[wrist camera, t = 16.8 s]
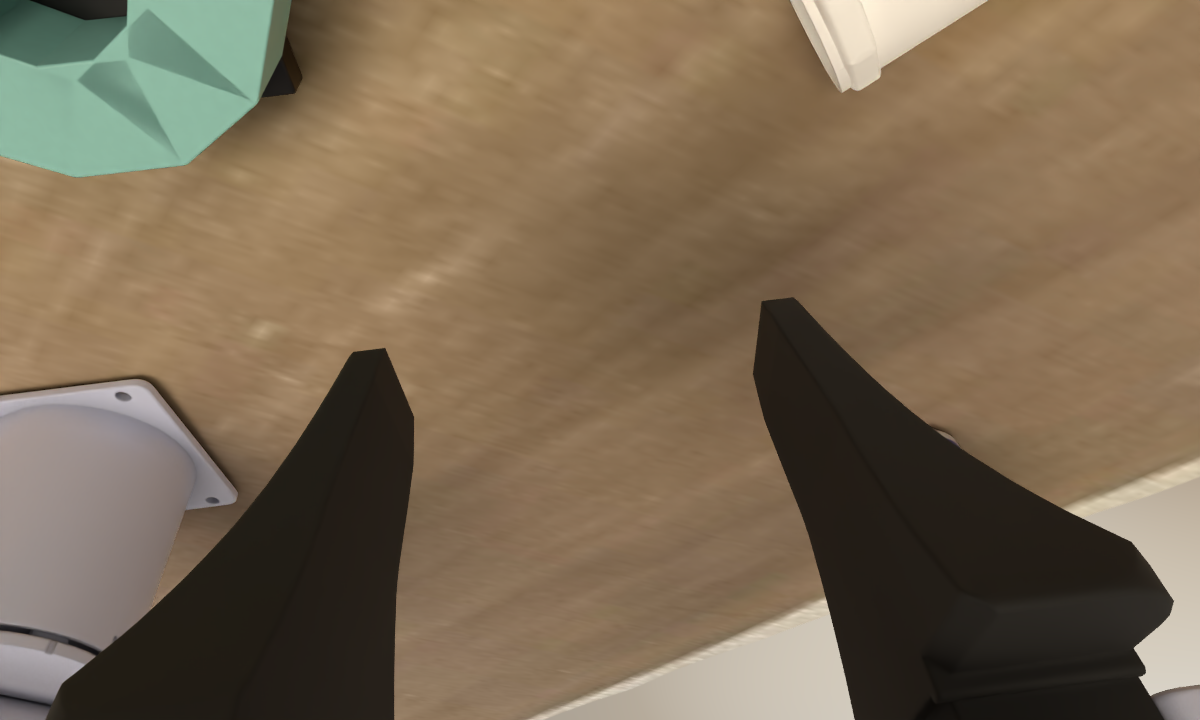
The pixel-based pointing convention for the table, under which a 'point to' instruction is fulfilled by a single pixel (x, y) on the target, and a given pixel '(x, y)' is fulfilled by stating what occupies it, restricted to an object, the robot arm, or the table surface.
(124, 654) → the robot arm
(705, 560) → the table surface
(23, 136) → the ring
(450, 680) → the table surface
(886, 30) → the knuckle duster
